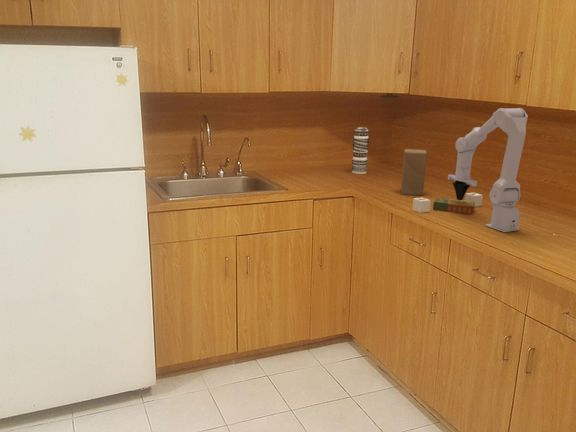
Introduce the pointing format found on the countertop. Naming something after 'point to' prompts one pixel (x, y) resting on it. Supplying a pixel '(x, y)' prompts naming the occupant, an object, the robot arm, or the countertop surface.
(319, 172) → the countertop surface
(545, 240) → the countertop surface
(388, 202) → the countertop surface
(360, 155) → the decorative candle
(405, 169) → the wooden block
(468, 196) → the number block 7
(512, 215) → the robot arm
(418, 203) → the number block 1
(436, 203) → the carton
